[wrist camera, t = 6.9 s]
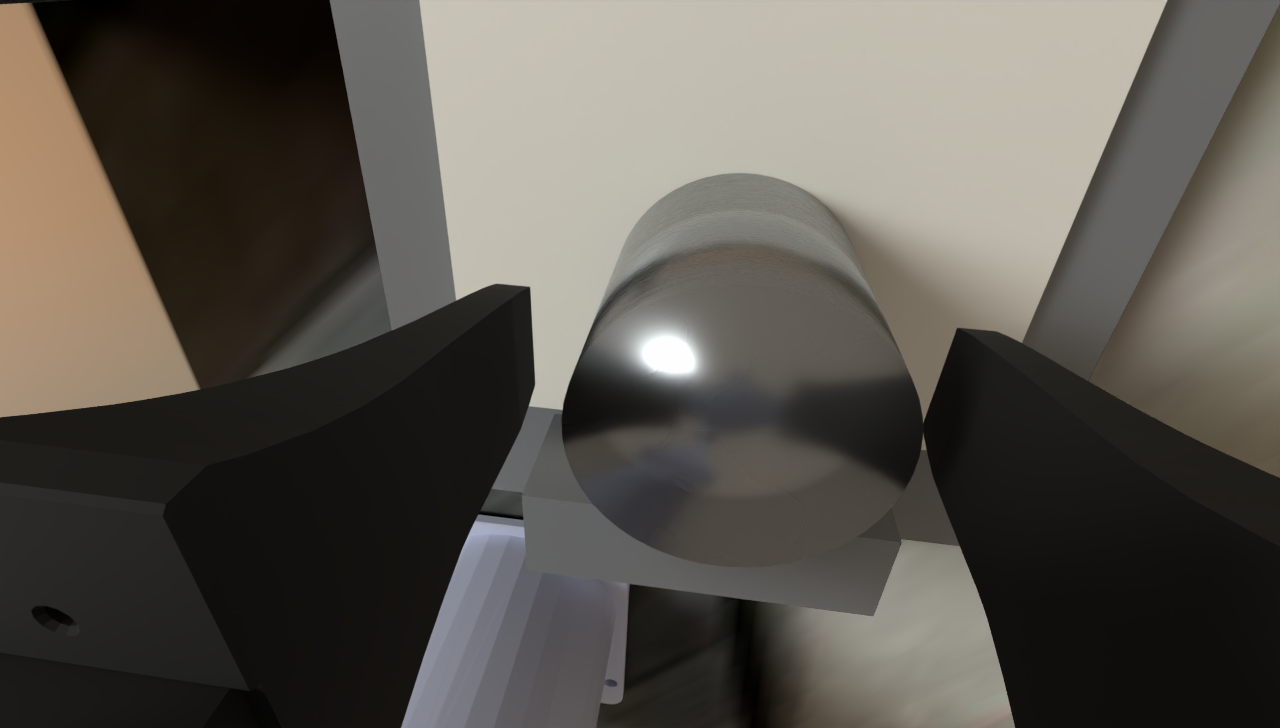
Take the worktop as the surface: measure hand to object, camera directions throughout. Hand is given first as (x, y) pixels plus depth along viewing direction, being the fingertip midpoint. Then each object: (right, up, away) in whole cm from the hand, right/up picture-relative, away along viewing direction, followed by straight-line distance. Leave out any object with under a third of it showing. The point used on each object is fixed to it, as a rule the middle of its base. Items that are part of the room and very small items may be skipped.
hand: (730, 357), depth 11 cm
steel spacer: (0, +1, +2) cm, 3 cm away
